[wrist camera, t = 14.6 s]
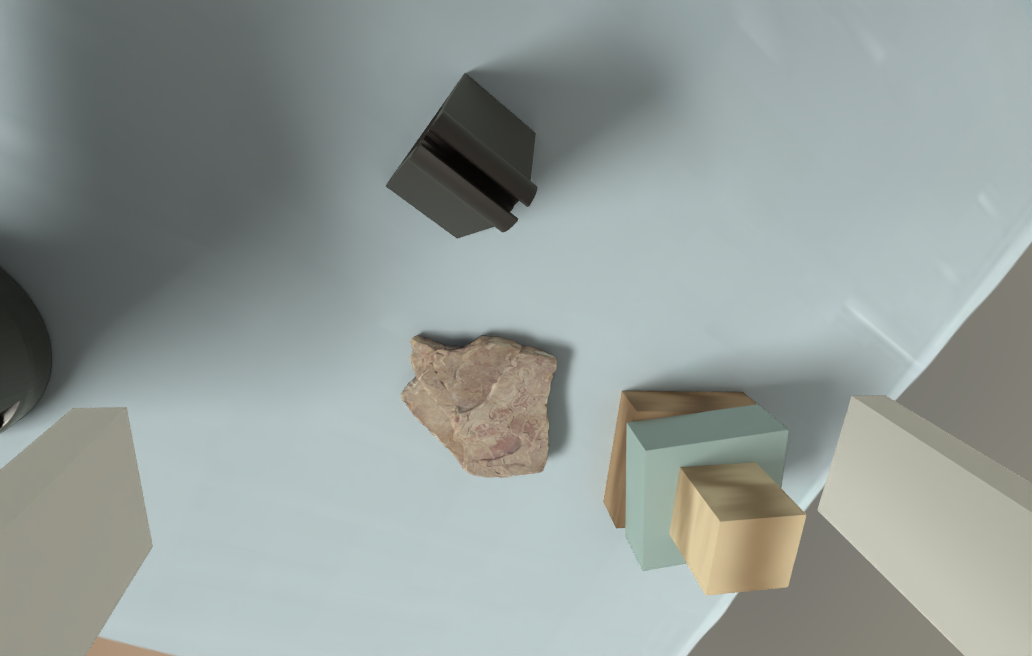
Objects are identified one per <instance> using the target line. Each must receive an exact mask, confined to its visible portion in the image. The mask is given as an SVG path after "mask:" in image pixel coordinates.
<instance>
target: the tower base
mask: <svg viewBox="0 0 1032 656" xmlns="http://www.w3.org/2000/svg"><path fill="white" fill-rule="evenodd" d="M750 405H757V404H756V403H755V402H754V401H753V400H752V399H751V398H749V397H748V396H747V395H746V394H745V393H743V392H676V391H622V393H621V399H620V405H619V411H618V417H617V423H616V429H615V435H614V441H613V448H612V454H611V460H610V466H609V472H608V478H607V484H606V490H605V496H604V504H605V506H606V508H607V510H608V512H609V514H610V516H611V519H612V521H613V523H614V525H615V527H616V528H625V525H626V436H627V423H628V422H635V421H642V420H649V419H656V418H664V417H671V416H678V415H685V414H692V413H700V412H707V411H714V410H721V409H728V408H736V407H743V406H750Z"/></svg>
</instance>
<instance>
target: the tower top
mask: <svg viewBox="0 0 1032 656" xmlns="http://www.w3.org/2000/svg"><path fill="white" fill-rule="evenodd" d="M788 433H789V430H788V429H787V428H786V427H785V426H784V425H783V424H781V423H780V422H779V421H778V420H777V419H775V418H774V417H773V416H772V415H771V414H770V413H768V412H767V411H766V410H765V409H764V408H763V407H761V406H760V405H759V404H757V405H750V406H743V407H736V408H728V409H721V410H714V411H707V412H700V413H692V414H685V415H678V416H671V417H664V418H656V419H649V420H642V421H635V422H628V423H627V436H626V525H625V536H626V538H627V540H628V542H629V544H630V546H631V549H632V551H633V553H634V555H635V557H636V559H637V561H638V563H639V565H640V567H641V569H642V571H646V570H652V569H658V568H664V567H669V566H675V565H681V564H687V563H686V561H685V560H684V558H683V556H682V554H681V553H680V551H679V549H678V548H677V546H676V544H675V543H674V541H673V539H672V538H671V536H670V534H669V533H670V527H671V521H672V514H673V508H674V502H675V495H676V489H677V483H678V476H679V470H680V467H690V466H706V465H721V464H737V463H752V462H756V463H757V464H758V465H759V466H760V467H761V468H762V469H763V470H764V471H765V472H766V473H767V474H768V475H769V476H770V478H771V479H772V480H773V481H774V482H775V483H776V484H777V485H778V486H779V487H780V488H781V487H782V479H783V471H784V463H785V456H786V448H787V440H788Z"/></svg>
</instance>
